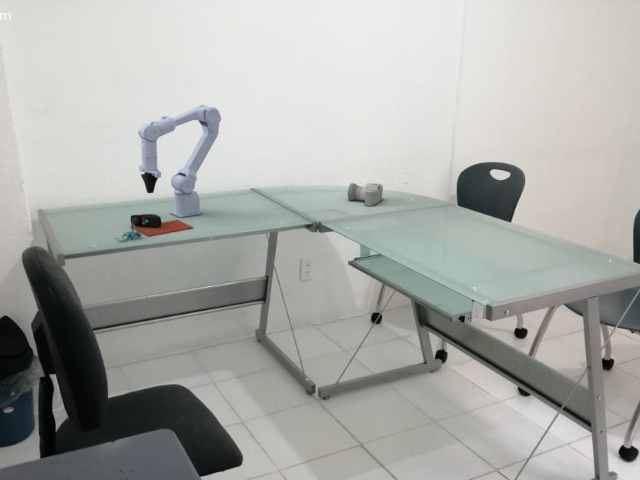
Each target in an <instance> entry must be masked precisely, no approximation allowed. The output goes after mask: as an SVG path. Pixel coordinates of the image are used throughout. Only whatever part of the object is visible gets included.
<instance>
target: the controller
mask: <svg viewBox="0 0 640 480" xmlns="http://www.w3.org/2000/svg"><path fill="white" fill-rule="evenodd" d="M132 222H133V224H134V225H135V227H139V226H140V227H142V226H153V227H160V226H161V223H162V218H161V216H159V215H158V214H154V213H144V214H132V215H130V224H131V223H132Z"/></svg>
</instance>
